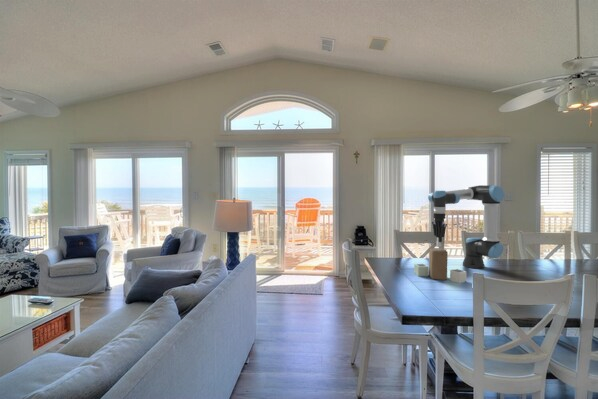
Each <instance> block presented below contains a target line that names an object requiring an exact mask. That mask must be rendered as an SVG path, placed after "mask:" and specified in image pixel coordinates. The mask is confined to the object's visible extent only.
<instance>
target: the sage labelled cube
mask: <svg viewBox="0 0 598 399" xmlns="http://www.w3.org/2000/svg"><path fill="white" fill-rule="evenodd" d="M413 267H414V268H413V269H414V270H413V274H414V275H416V276H417V277H429V265H427V264H424V263H414V266H413Z"/></svg>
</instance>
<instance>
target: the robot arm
mask: <svg viewBox="0 0 598 399" xmlns="http://www.w3.org/2000/svg"><path fill="white" fill-rule="evenodd" d="M427 198H428V201H429V202H430V203H433V219H434V220H433V221H432V222H431V224H432V228H433V235H434V237H435V239H436V241H435V242H436V247H438V248H439V247H440V248H441V247H442V242H443V240H442V238H444V237H445V234H446V229H447V225H448V224H447V223H446V222H445V219H446V205H448V204H449V205H452V204H453V205H454V204H455V205H456V204H458V203H460V200H469V201H470V200H474V201H481V204H482V205H483V237H467V238H466V240H465V256H464V259H463V262H462V266H464V267H466V268H468V269H469V268H470V269H476V270H477V269H480V270H481V269H485V262H484V259H483V256H484V257H487V258H490V259H491V258H492V259H499V258H500V257H501V256H502V254H503V252H504V245H503V244H502V243H501V242H500V241H501V240H500V239H499V238H498V221H499V220H498V219H499V218H498V215H499V214H498V213H499V212H498V209H499V208H498V207H499V205H500V204H501V202H502V201H504V198H505V191H504V189H503V188H502V187H501V186H499V185H493V184H492V185H474V186H470V187H465V188H464V189H457V190H456V189H455V190H449V191H446V190H434V192H430V193H429V194H428V196H427Z"/></svg>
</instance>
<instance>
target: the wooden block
mask: <svg viewBox="0 0 598 399" xmlns="http://www.w3.org/2000/svg"><path fill="white" fill-rule="evenodd" d="M448 252H449V251H447V250H446V249H445V248H439V247H438V248H435V247H433V248H432V247H431V248H429V255H428V258H429V259H428V261H429V262H428V277H430V278H431V279H432V280H439V281H440V280H441V281H442V280H443V281H447V279H448V256H449V254H448Z"/></svg>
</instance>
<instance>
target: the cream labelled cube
mask: <svg viewBox="0 0 598 399" xmlns="http://www.w3.org/2000/svg"><path fill="white" fill-rule="evenodd" d="M449 281H452V282H453V283H454V282H455V283H457V284H462V282H463V283H465V281H466V282H467V270H466V271H465V270H462V269H458V268H455V269H450V272H449Z"/></svg>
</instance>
